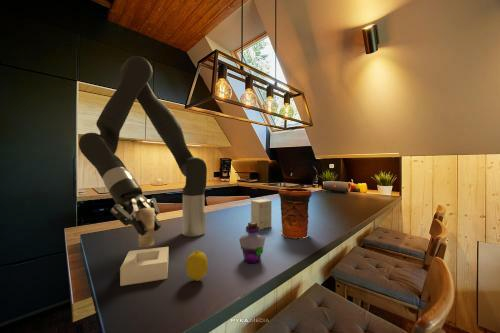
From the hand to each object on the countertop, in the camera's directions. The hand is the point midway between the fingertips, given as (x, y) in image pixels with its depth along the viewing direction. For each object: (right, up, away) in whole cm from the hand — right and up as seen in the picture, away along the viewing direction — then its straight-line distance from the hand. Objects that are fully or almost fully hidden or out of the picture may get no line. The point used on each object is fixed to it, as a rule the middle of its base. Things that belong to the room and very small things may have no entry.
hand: (151, 231), depth 60 cm
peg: (-2, -4, +1) cm, 5 cm away
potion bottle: (+28, -12, +9) cm, 32 cm away
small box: (+33, -12, +45) cm, 57 cm away
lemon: (+13, -12, -3) cm, 19 cm away
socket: (-2, -12, +1) cm, 12 cm away
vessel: (+47, -12, +35) cm, 60 cm away
